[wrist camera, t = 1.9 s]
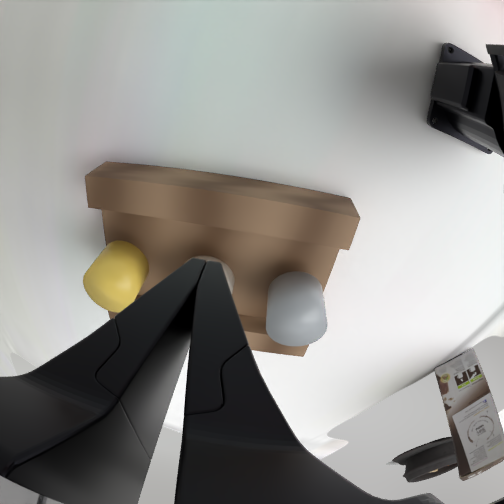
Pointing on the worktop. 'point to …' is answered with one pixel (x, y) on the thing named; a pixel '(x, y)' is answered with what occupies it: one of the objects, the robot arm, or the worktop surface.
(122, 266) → the mustard key
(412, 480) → the casserole
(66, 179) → the worktop surface
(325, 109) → the worktop surface
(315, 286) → the grey rounded block
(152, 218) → the key console
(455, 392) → the coffee box
